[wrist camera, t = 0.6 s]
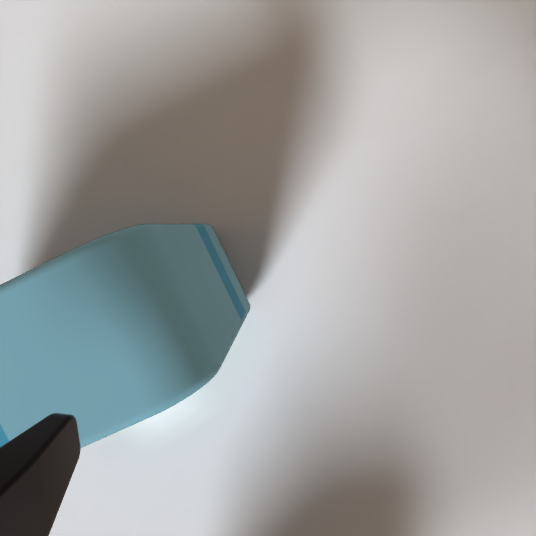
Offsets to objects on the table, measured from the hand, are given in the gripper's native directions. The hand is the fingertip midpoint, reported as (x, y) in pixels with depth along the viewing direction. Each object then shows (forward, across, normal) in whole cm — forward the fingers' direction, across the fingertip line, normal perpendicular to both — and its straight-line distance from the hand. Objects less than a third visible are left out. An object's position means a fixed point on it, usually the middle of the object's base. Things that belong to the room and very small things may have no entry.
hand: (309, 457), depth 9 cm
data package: (+13, +9, +6) cm, 17 cm away
